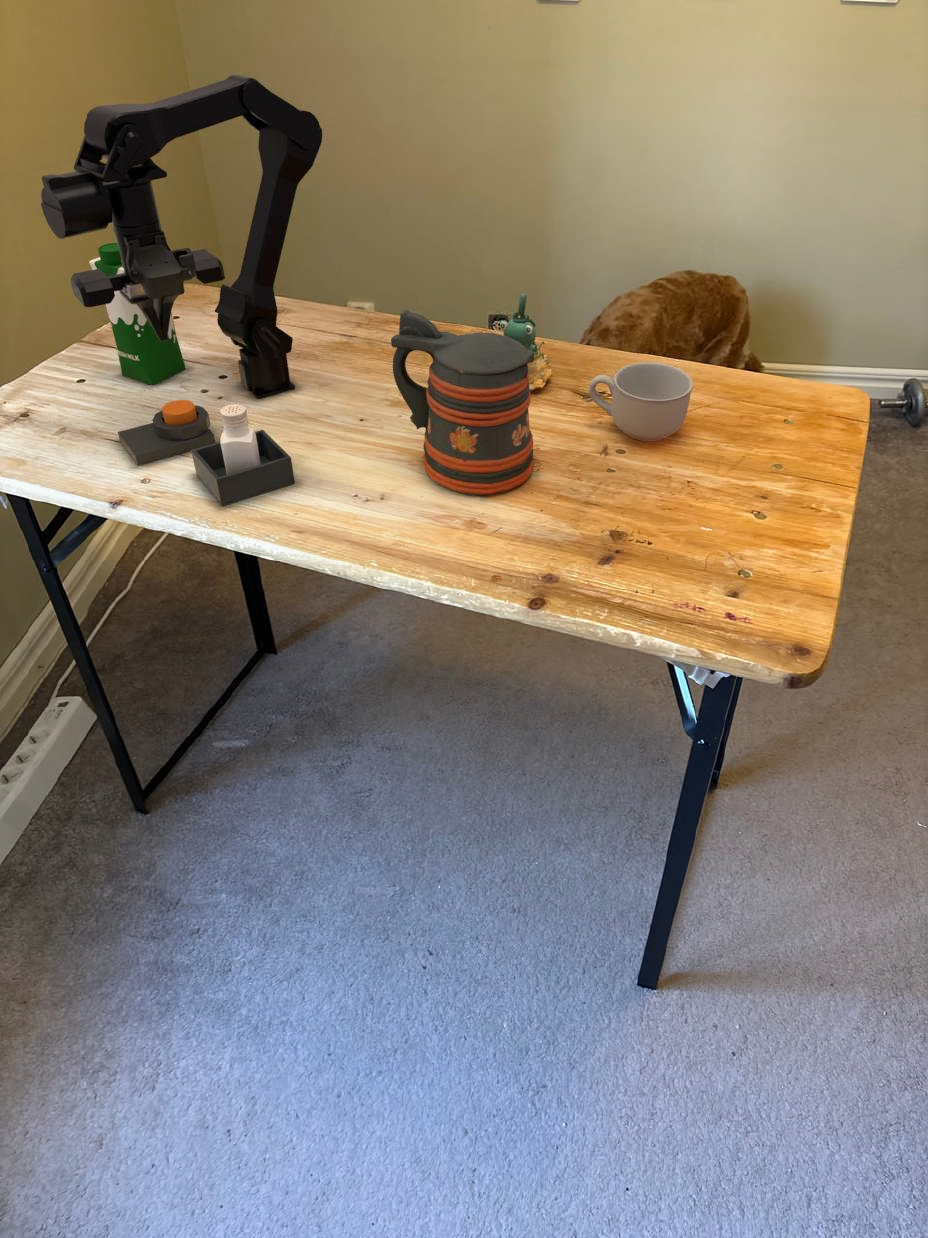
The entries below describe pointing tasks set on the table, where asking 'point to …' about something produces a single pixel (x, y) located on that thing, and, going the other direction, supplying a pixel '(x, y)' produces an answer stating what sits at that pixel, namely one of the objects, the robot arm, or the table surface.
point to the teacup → (646, 399)
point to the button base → (166, 438)
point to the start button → (179, 412)
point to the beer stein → (468, 406)
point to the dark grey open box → (243, 471)
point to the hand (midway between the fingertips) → (163, 340)
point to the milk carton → (137, 331)
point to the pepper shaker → (238, 440)
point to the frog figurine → (527, 344)
